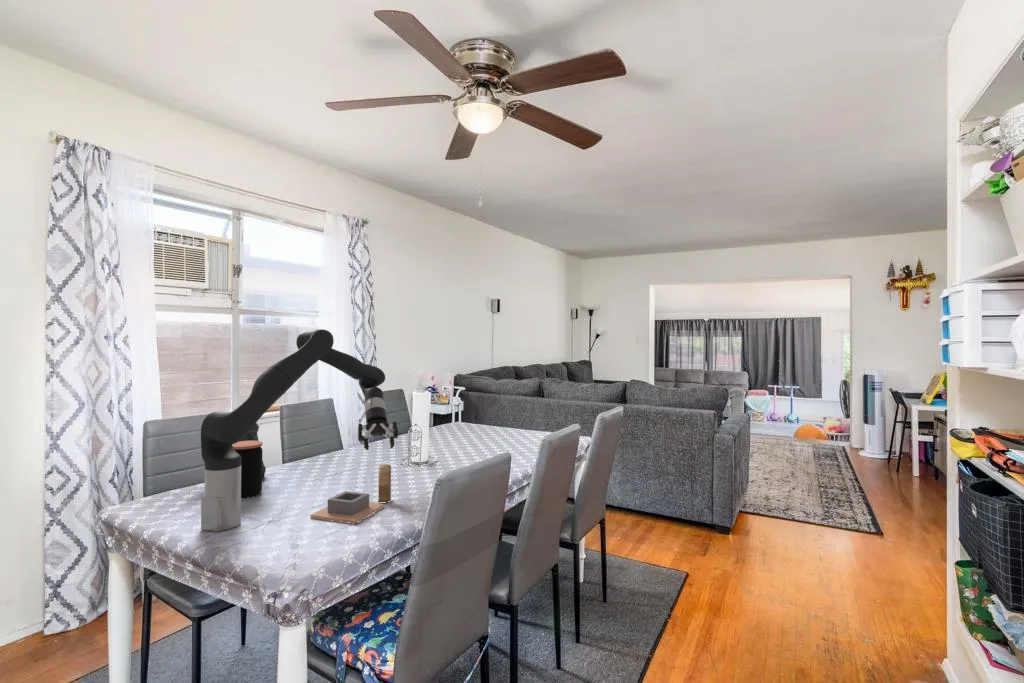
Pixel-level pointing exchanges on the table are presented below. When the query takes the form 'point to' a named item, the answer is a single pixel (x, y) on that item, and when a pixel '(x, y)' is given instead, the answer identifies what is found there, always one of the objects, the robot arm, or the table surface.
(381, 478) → the tan dome-topped cylinder
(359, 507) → the holder
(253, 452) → the coffee jar
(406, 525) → the table surface
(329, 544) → the table surface
